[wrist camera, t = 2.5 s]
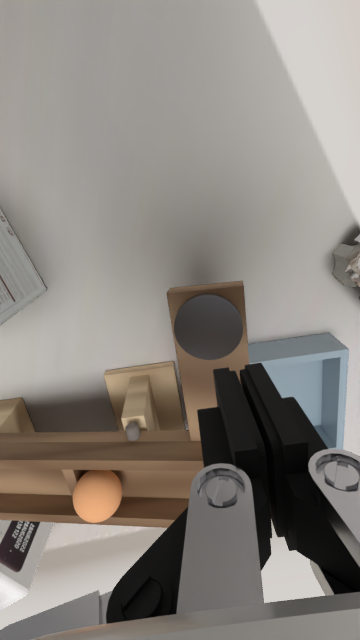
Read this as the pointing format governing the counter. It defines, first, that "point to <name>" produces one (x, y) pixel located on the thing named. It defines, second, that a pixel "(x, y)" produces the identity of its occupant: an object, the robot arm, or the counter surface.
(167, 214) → the counter surface
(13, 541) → the container
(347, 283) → the egg carton
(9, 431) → the block
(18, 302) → the supplement box
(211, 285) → the lever
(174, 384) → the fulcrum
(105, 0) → the counter surface
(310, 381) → the dish
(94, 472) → the ball
